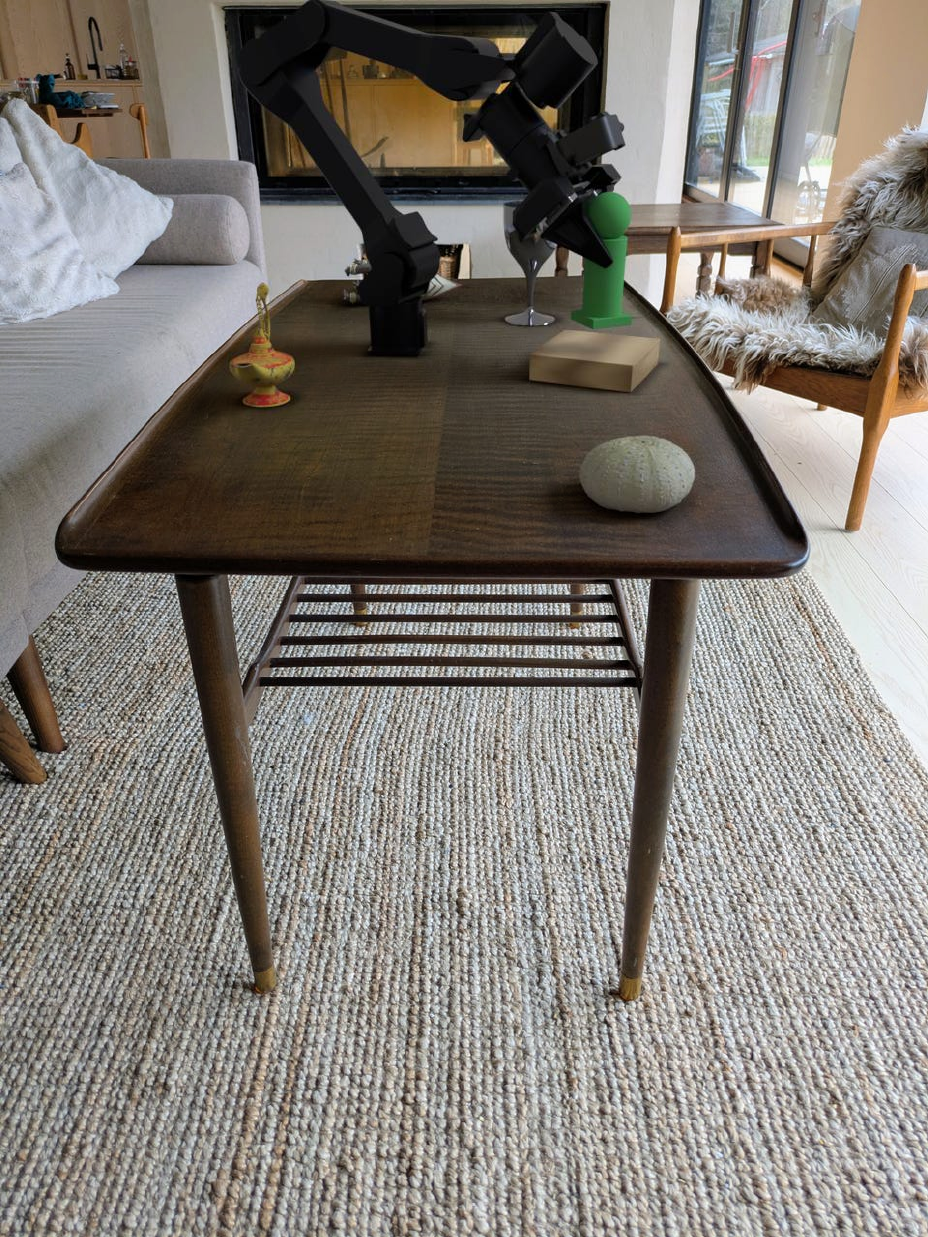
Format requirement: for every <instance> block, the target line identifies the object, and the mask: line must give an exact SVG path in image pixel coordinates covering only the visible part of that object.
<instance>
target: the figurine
mask: <svg viewBox="0 0 928 1237" xmlns="http://www.w3.org/2000/svg"><path fill="white" fill-rule="evenodd" d="M353 260H354V261H352V263H353V264H351V265H348V266H346V268H345V269H344V270H343V271H344V273H345V274H346V277H348V278H349V277H350V276H357V275H367V274H368V273H369V271H370V270H371V269H372V268H371V266H370V264H369V261H368V259H362V260H359V259H358V258H353ZM359 283H360V281H359V280H358V279H357V280H356V282H354V281H351V284H352V285H353V288H354V289H355V290H357V286H358V285H359ZM459 287H462V283H457V282H455V281H453V280H451V279H449V278H447V277H445V276H444V275H442V274H440V273H438V272H437V274H436V276H435V277H434V278H433V279H432V280H431V282H430V286H429V289H428V292H427V294H425V295H420V296H421V297H422V302H423V301H427V300H431V299H433V298H435V297H438V296H441V295H443V294H445V293H448V292H450V291H452V290H455V289H457V288H459ZM343 300H346V301H349V302H350V303H352V304H354V303H356V302H359V303H362V302H361V299H360V297H359V294H356V292H354V291H352V292H350V293H348V292H347V291H346V288H344V289H343Z"/></svg>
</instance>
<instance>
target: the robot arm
mask: <svg viewBox="0 0 928 1237" xmlns="http://www.w3.org/2000/svg"><path fill="white" fill-rule="evenodd" d="M334 48H337V49H340V50H343V51H346V52H349V53H352V54H355V55H358V56H360V57H365V58H367V59H370V60H373V61H376V62H379V63H381V64H384V65H388V66H391V67H394V68H397V69H399V70H403V71H406V72H407V73H409V74H411V75H413V76H414V77H416V78H417V79H418V80H419V81H420V82H421V83H422V84H423V85H425V86H426V87H427V88H429V89H430V90H433V91H434V92H435V93H437V94H439V95H441V96H442V97H444V98H446V99H448V100H450V101H452V102H458V103H459V102H471V101H482V100H484V102H482V104H481V105H480V107H479V108H478V109H476V110H477V111H476V112H465V113H464V114H463V118H462V119H463V129H462V136H461V139H462V141H463V142H464V143H470V142H476V141H480V140H481V139H482V138H483V137H485V138H486V140H487V141H488V142H489V143H490V144H491V146H492V148H493V149H494V150H495V152H497V154H498V155H499V156H500V157H501V159H502V160H503V161H504V162H505V164H506V165H507V167H508V169H509V170H508V171H507V172H506V174H505V175H506V176H507V177H508V179H509V180H510V181H511V182H516V181H519V182H520V184H521V185H522V186H523V187H524V188H525V190H526V192H528V194H527V195H526V196H525V198H523V200H521V201H522V202H521V203H520V204H519V205H518V206H517V207H516V209H515V210H514V211H513V226H514V228H515V229H516V230H517V232H518V233H519V234H520V235H521V237H522V238H523V239H526V238H529V237H531V236H534V235H535V233H536V232H537V230H536V226H537V225H538V224H539V223H540V222H541V221H542V220H543V219H544V218H545V217H546V218H547V219H546V220H545V223H546V224H547V225H548V228H547V229H546V230H545V231H544V232H543V233H542V234H541V235H540V238H541V239H543V240H544V239H546V240H548V241H551V242H553V243H555V244H557V246H559V247H561V248H563V249H566V250H568V251H570V252H572V253H574V254H576V255H577V256H580V257H582V258H584V259H585V258H586V259H588V260H590V261H592V262H594V263H596V264H597V265H599V266H601V267H603V268H608V267H609V266H610V265H611V264H613V258H612V256H611V255H610V253H609V251H608V249H607V247H606V245H605V244H604V242H603V240H602V238H601V237H600V235H599V233H598V231H597V230H596V228H595V226H594V224H593V223H592V221H591V219H590V218H589V215H588V206H589V204H590V203H591V201H592V200H593V199H594V198H595V197H597V196H598V195H600V194H602V193H605V192H614V191H615V186H616V185H617V184H618V183H619V182H620V181H621V179H622V176H621V175H620V173H619V172H618V171H617V169H616V168H615V166H614V165H613V164H612V163H598V164H595V165H593V164H592V163H591V161H593V160H595V159H597V158H599V157H601V156H604V155H605V154H608V153H609V152H611V151H615V152H616V151H618V150H621V149H622V148H624V147H626V142H625V139H624V138H625V137H624V135H623V132H624V130H625V125H624V123H623V122H621V121H620V120H619V117H618V115H617V114H615V113H614V114H610V113H609V112H608V111H607V110H606V111H601V112H599V114H597V115H595V116H591V117H589V118H588V123H587V124H585V125H583V126H581V127H579V128H577V129H576V130H574V131H572V132H570V133H568V134H567V133H566V131H565V130H563V129H556V130H553V129H552V127H551V126H550V125H549V124H548V123H547V121H546V120H545V119H544V117H543V116H542V115H541V113H540V112H539V111H538V109H540V110H542V111H544V110H546V109H547V108H548V107H549V108H551V109H554V110H559V109H560V108H561V106H562V105H563V104H564V103H565V102H566V101H567V99H568V98H570V97H571V95H572V94H573V93H574V91H575V90H576V89H577V88H578V87H579V85H581V84H582V82H584V80H585V79H586V78H587V76H589V74H590V73H591V72H592V71H593V70H594V68H596V67H597V65H598V64H599V62H598V58H597V55H596V53H595V51H594V49H593V48H592V46H591V45H590V43H589V42H588V40H587V39H586V38H585V36H583V35H580V34H579V33H578V32H577V31H576V30H575V29H574V28H573V27H571V25H569V24H568V23H567V22H565V21H564V20H563V19H562V18H561V17H560V16H559V14H558V13H557V12H556V11H555V12H554V11H546V13H545V14H544V15H543V16H542V17H541V19H540V20H539V22H538V23H537V25H536V27H535V29H534V31H533V32H532V33H531V34H530V36H529V37H528V38H527V40H526V41H525V42H524V43H523V45H522V46H521V47H520V49H519V50H517V52H501V51H500V48H499V46H498V45H497V44H496V43H495V42H494V41H492V40H490V39H489V38H484V37H474V36H465V35H464V36H463V35H450V34H437V33H427V32H424V31H420V30H417V29H415V28H412V27H409V26H405V25H402V24H400V23H396V22H393V21H390V20H387V19H384V18H381V17H379V16H375V15H372V14H368V13H365V12H363V11H360V10H356V9H353V8H350V7H347V6H344V5H342V4H341V3H340V2H339V1H336V0H307V1H305V3H303V4H302V5H301V6H300V7H299V8H298V9H297V10H296V11H294V13H292V14H291V15H289V16H287V17H286V18H284V19H283V20H281V21H280V22H278V23H276V24H275V25H273V26H272V27H270V28H268V29H266V30H265V31H264V32H263V33H262V34H261V35H260V36H259V37H253V38H251V39H248V40H247V41H246V42H245V43H244V44H243V46H242V48H241V49H240V52H239V58H238V69H237V73H238V77H239V80H240V81H241V84H242V86H244V88H245V90H246V91H247V92H248V93H249V94H250V95H251V96H252V97H253V98H254V99H255V100H256V101H257V102H258V103H259V104H260V106H261V107H262V108H263V109H264V110H266V111H267V112H269V113H270V114H272V115H273V116H275V117H276V118H278V119H279V120H280V121H282V122H283V123H285V124H286V125H287V126H288V127H289V128H290V129H291V130H292V132H293V133H294V135H295V136H296V137H297V139H298V140H299V142H300V144H301V145H302V146H303V148H304V149H305V151H306V152H307V154H308V155H309V157H310V158H311V160H312V161H313V162H314V164H315V166H316V167H317V169H318V170H319V171H320V173H321V174H322V175H323V178H324V179H325V180H326V182H327V183H328V185H329V187H330V188H331V189H332V190H333V192H334V193H335V194H336V196H337V197H338V199H339V200H340V202H341V204H342V205H343V206H344V208H345V209H346V210H347V212H348V214H349V215H350V216H351V218H352V219H353V221H354V222H355V224H356V225H357V227H358V229H359V230H360V232H361V236H362V242H363V246H364V247H363V248H364V252H365V257H366V260H367V262H369V264H370V266H371V268H372V269H371V270H370V271H369V273H368V274H365V276H364V277H363V278H362V279H361V281H359V285H358V286H357V289H356V292H357V295H359V297H360V299H361V302H360V303H361V304H362V305H365V306H366V305H367V306H368V316H369V317H368V318H369V331H370V332H369V334H370V346H369V348H368V350H367V353H368V355H379V356H380V355H381V356H382V355H385V356H387V355H388V356H419V355H420V354H421V352H422V351H423V349H424V348H425V347H426V345H427V343H428V341H429V340H428V310H426V309H425V308H423V301H422V297H421V296H420V295H425V294H427V292H428V289H429V286H430V282H431V280H432V279H433V278H434V277H435V276H436V274H437V273H438V272H439V269H440V265H441V264H440V262H441V252H440V249H439V247H438V245H437V243H435V242H437V241H438V240H439V237H438V236H436V235H435V234H434V233H432V231H431V230H430V229H429V228H428V227H427V224H426V223H425V220H424V218H423V216H422V215H421V214H420V213H419V211H417V210H415V211H412V212H411V211H410V212H408V213H405V214H404V213H402V212H401V211H400V210H398V209H397V208H396V207H395V206H394V205H393V204H392V202H391V201H390V199H389V198H388V196H387V195H386V193H385V192H384V190H383V189H382V187H381V185H380V184H379V182H378V181H377V180H376V178H375V177H374V176H373V174H372V172H371V171H370V169H369V168H368V166H367V165H366V164H365V162H364V161H363V159H362V158H361V156H360V154H359V153H358V152H357V150H356V149H355V147H354V145H353V144H352V143H351V141H350V139H348V137H347V135H346V134H345V132H344V131H343V130H342V128H341V127H340V125H339V123H338V122H337V121H336V119H335V118H334V116H333V115H332V113H331V112H330V110H329V109H328V107H327V106H326V104H325V102H324V98H323V94H322V93H323V92H322V87H321V81H320V76H319V74H318V73H317V70H318V69H319V68H320V67H322V66H323V64H324V63H325V62H326V61H327V59H328V57H329V56H330V54H331V52H332V50H333V49H334ZM504 84H507V85H506V86H505V87H504V88H503V89H502V90H501V92H500V93H498V89H499V88H500V87H501V85H504ZM627 256H628V251H627V250H626V257H627Z"/></svg>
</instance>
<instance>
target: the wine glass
mask: <svg viewBox="0 0 928 1237" xmlns="http://www.w3.org/2000/svg"><path fill="white" fill-rule="evenodd" d="M522 201H523V200H515V201H514V200H513V201H508V202H503V205H502V224H503V225H502V226H503V233H504V234H503V235H504V239H505V243H506V247H507V250H508V252H509V254H510V255H511V257H513V259H514V260H515V261H516V263H517V264H518V265H519V267H520V268H521V269H522V272H523V274H524V277H525V280H526V281H525V282H526V292H527V303H526V304H527V305H526V310H525V311H523V312H519V313H514V314H510V315H506V316H505V317H504V321H505V322H506V323H508V324H512V325H516V326H530V327H531V326H532V327H533V326H544V325H548V324H552V323H554V322H555V320H556V319H555V317H553V315H549V314H545V313H539V312H538V311H536V310H534V291H535V284H536V280H537V276H538V274H539V272H540V270H541V269H542V267H543V266H544V264H546V262H547V261H548V260H549V258H550V257H551V256H552V255H553V254H554V252H555V250H556V249H557V246H558V245H557V244H555V243H553V242H551V241H548V240H546V239H544V240H543V239H541V238H540V235H541V234H542V233H543V232H544V231H545V230H546V229H547V228H548V225H547V224H546V223H545V220H546V219H547V218H546V217H545V218H544V219H543V220H542V221H541V222H540V223H539V224H538V225H537V226H536V230H537V232H536V233H535V235H534V236H531V237H529V238H526V239H523V238H522V237H521V235H520V234H519V233H518V232H517V230H516V229H515V228H514V226H513V211H514V210H515V209H516V207H517V206H518V205H519V204H520V203H521V202H522Z"/></svg>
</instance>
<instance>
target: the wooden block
mask: <svg viewBox="0 0 928 1237" xmlns="http://www.w3.org/2000/svg"><path fill="white" fill-rule="evenodd" d="M660 346H661V338H655V337H645V336H633V335H624V334H614V333H605V332H595V331H594V332H592V331H584V330H576V329H575V330H573V329H563V330H562V331H560V332H559V333H558V334H556V335H555V336H554V337H552V338H551V339H549V340H548V341H546V342H545V343H543V344H542V345H540V346H539V347H538V348H536V349H535V350H534V351H533V352H531V353H530V354H529V373H528V374H529V379H528V380H529V381H535V382H542V383H551V384H558V385H565V386H573V387H575V386H576V387H583V388H591V389H600V390H608V391H616V392H623V393H624V392H625V393H632V392H633V391H634V390H635V389H636V388H637V386H639V384H641V382H643V380H644V379H645V378H646V377H647V376H648V375H649V374H650V373H651V372H652V371H653V370H654V369H655V367H657V366H658V365H659V359H660V358H659V356H660Z"/></svg>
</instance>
